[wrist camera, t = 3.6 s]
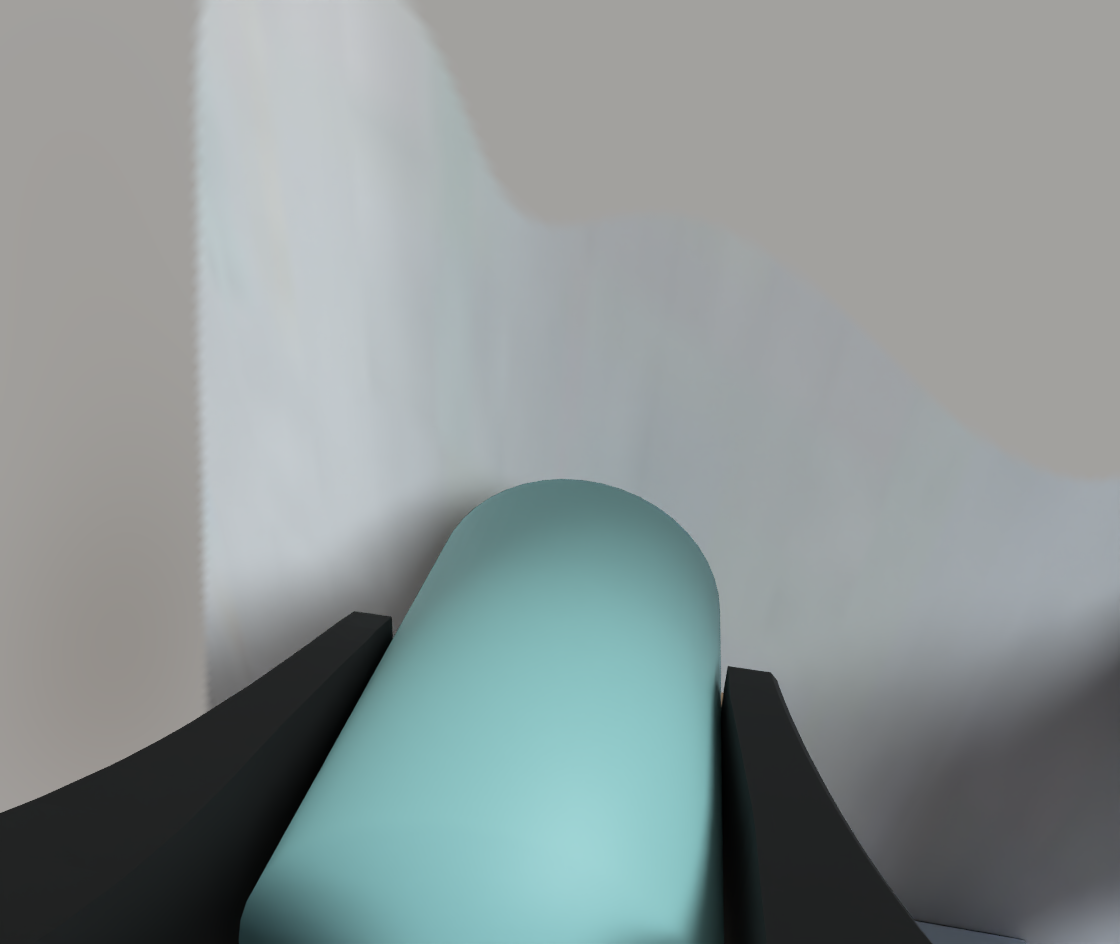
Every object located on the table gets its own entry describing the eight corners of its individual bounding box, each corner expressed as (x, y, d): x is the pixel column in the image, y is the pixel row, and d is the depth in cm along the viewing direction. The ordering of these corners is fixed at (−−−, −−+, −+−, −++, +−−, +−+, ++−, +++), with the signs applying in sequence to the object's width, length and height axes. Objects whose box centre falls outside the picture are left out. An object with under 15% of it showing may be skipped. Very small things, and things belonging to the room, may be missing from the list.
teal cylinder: (738, 497, 13) (760, 877, 7) (702, 738, 16) (694, 1187, 9) (432, 463, 14) (207, 785, 8) (438, 699, 16) (267, 1096, 10)
